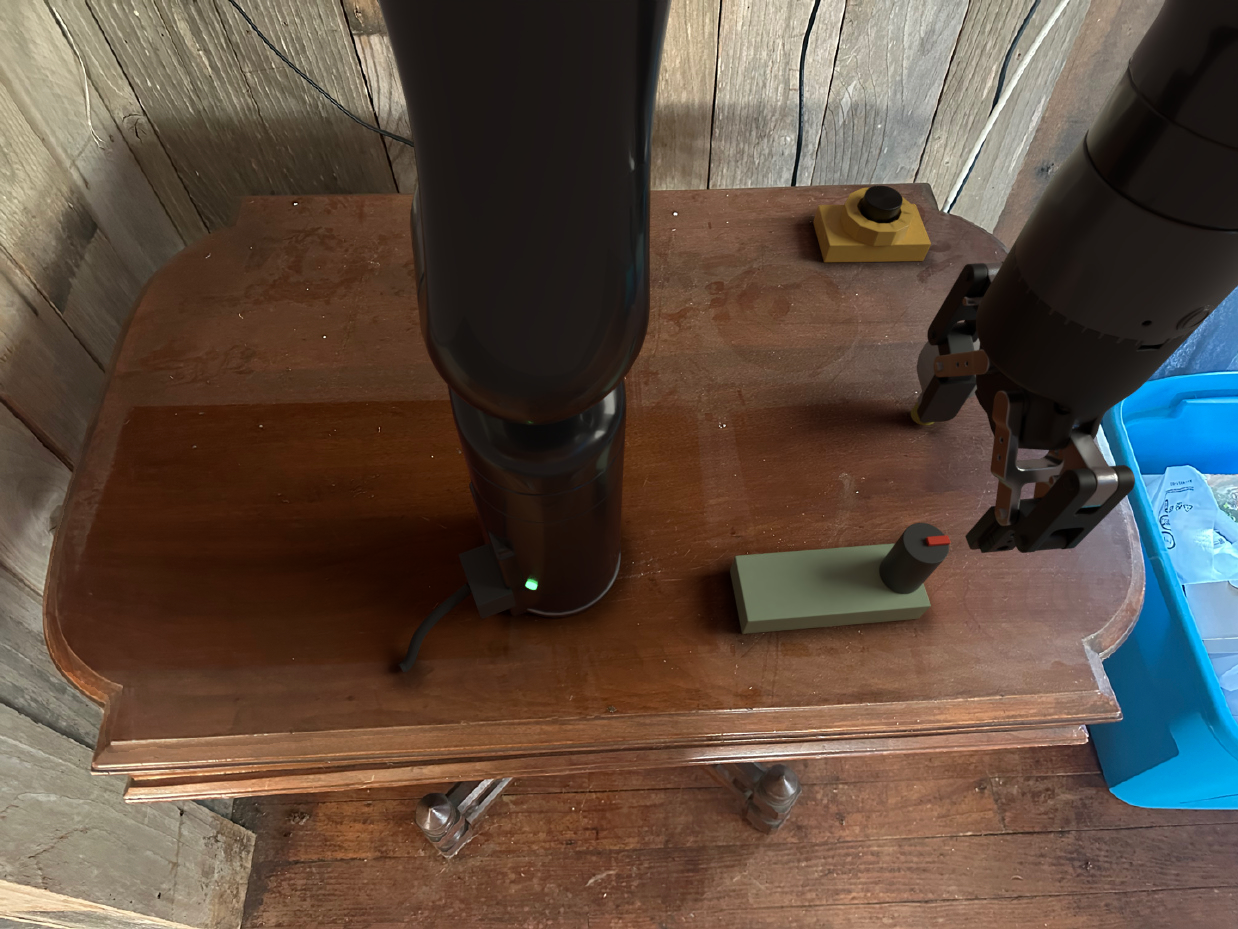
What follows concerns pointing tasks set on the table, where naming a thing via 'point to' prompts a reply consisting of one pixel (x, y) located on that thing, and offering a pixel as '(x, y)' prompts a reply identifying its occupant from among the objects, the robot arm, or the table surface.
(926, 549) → the dimmer knob
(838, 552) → the dimmer panel
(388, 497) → the table surface
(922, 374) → the light bulb
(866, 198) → the button
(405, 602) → the table surface
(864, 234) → the switch box
